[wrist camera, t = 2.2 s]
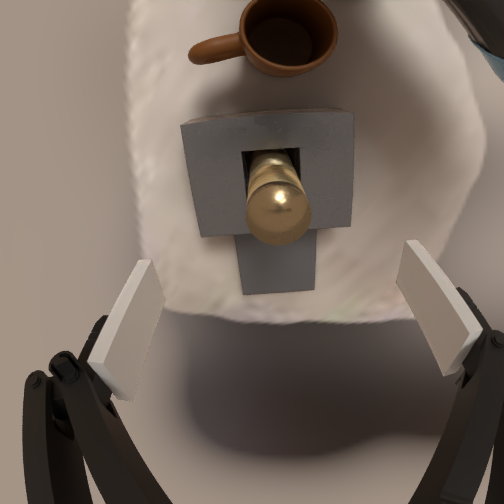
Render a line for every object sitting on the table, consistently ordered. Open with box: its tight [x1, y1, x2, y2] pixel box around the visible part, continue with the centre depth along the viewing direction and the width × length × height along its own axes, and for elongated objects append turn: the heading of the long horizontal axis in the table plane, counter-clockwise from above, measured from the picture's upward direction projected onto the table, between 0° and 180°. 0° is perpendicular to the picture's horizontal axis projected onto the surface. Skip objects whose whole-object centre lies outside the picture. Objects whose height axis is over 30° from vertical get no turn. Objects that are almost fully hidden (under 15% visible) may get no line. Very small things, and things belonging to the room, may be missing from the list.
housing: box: [180, 109, 354, 237], centre depth 29 cm, size 12×16×5 cm
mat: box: [234, 229, 316, 295], centre depth 37 cm, size 10×10×1 cm
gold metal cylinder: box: [246, 148, 312, 245], centre depth 25 cm, size 4×4×14 cm
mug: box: [188, 0, 338, 77], centre depth 20 cm, size 12×8×9 cm, turn 105°
